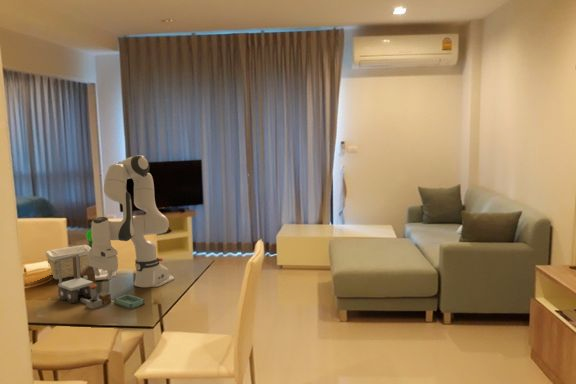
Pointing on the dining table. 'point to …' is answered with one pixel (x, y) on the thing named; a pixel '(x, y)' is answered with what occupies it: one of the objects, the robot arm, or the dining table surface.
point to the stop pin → (93, 292)
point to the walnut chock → (105, 297)
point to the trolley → (76, 287)
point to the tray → (129, 301)
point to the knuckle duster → (101, 275)
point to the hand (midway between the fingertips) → (103, 277)
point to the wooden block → (88, 271)
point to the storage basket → (67, 260)
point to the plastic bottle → (89, 237)
